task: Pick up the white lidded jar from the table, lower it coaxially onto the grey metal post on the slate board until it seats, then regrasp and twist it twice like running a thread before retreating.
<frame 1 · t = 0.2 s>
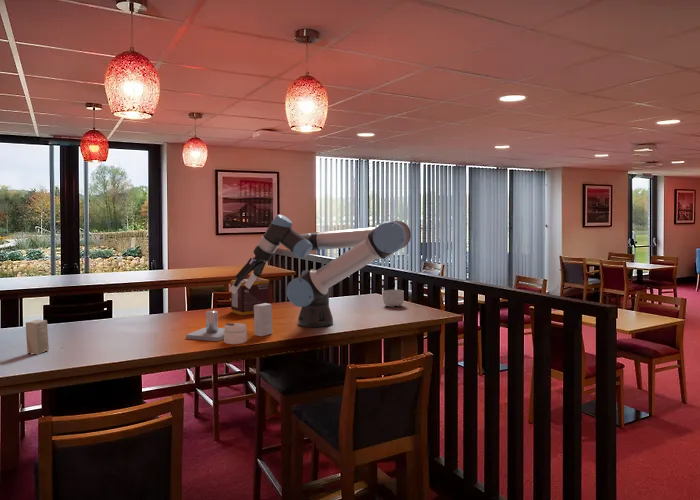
hand: (239, 289, 219), 16 cm above the table, tool tilted 35°, fingers open, 13 cm apart
box: (38, 353, 179), on the table
board: (212, 335, 203), on the table
white lidded jar: (235, 341, 195), on the table
supplement box: (250, 312, 250), on the table
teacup: (394, 306, 267), on the table
post: (211, 321, 203), on the board, point 6 cm above the table
skincare box: (263, 334, 206), on the table
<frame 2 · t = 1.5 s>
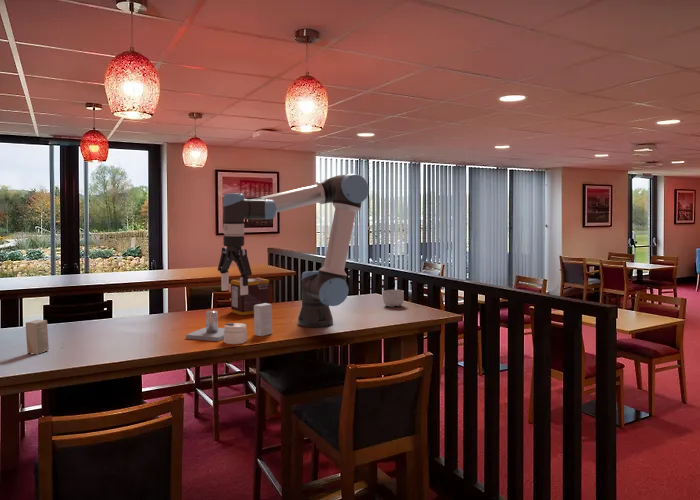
hand: (234, 292, 193), 18 cm above the table, tool pointing down, fingers open, 13 cm apart
nothing on the table moved.
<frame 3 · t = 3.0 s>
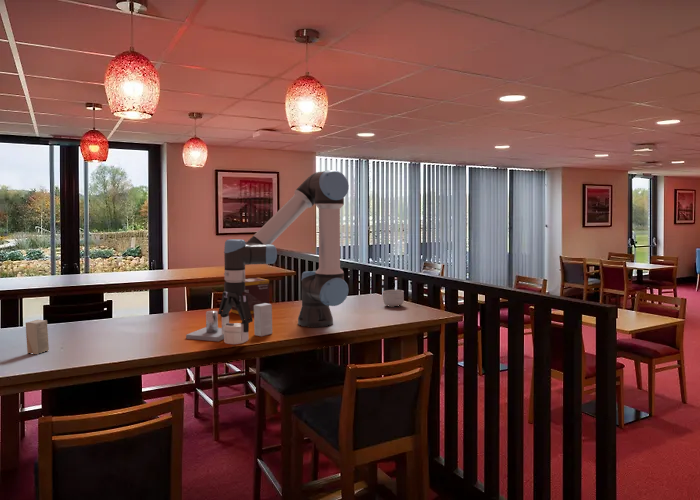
hand: (234, 337, 194), 2 cm above the table, tool pointing down, fingers open, 13 cm apart
nothing on the table moved.
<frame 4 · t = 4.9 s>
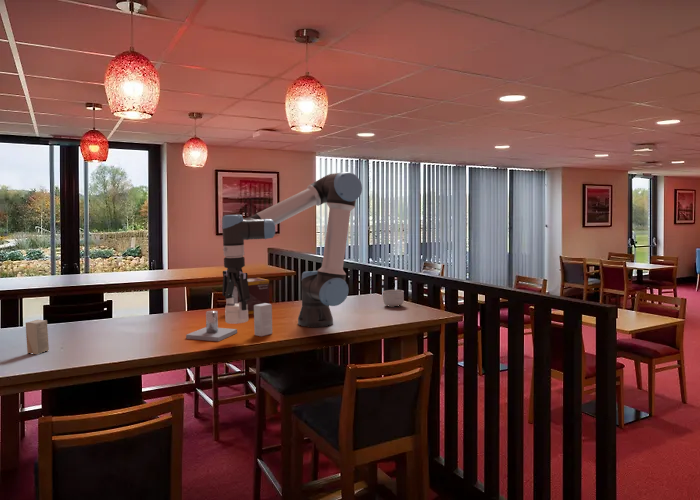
hand: (236, 316, 194), 9 cm above the table, tool pointing down, fingers closed on white lidded jar, 8 cm apart
white lidded jar: (237, 321, 194), point 8 cm above the table, touching gripper
everything else where it was.
when the fingers open (6 cm above the table, at t = 9.5 s): white lidded jar stays where it is, resting on post.
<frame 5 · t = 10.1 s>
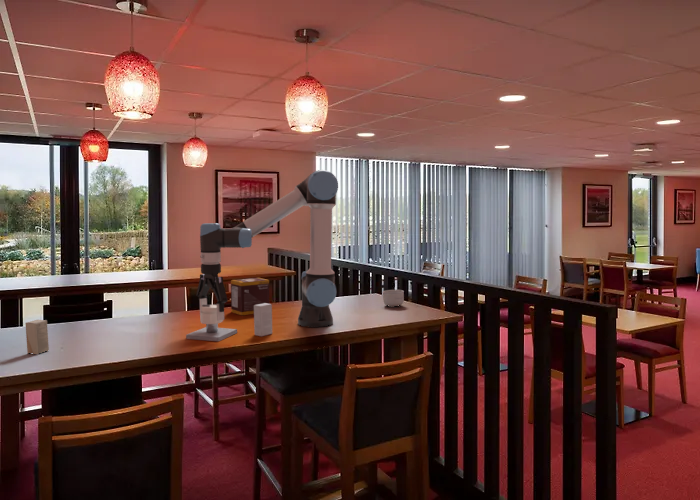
hand: (211, 317, 203), 7 cm above the table, tool pointing down, fingers open, 13 cm apart
white lidded jar: (211, 321, 203), point 5 cm above the table, touching post
everything else where it was.
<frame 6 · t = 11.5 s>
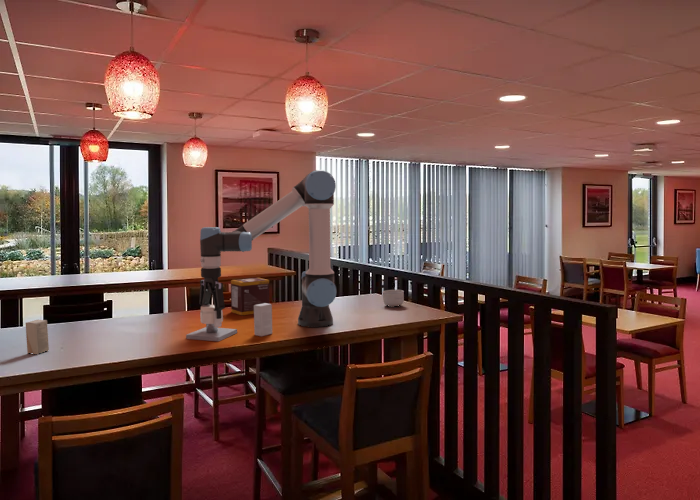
hand: (212, 324, 203), 4 cm above the table, tool pointing down, fingers closed on white lidded jar, 8 cm apart
white lidded jar: (211, 321, 203), point 6 cm above the table, touching gripper, post
everything else where it was.
when the fingers open (4 cm above the table, at t = 15.7 s): white lidded jar stays where it is, resting on post.
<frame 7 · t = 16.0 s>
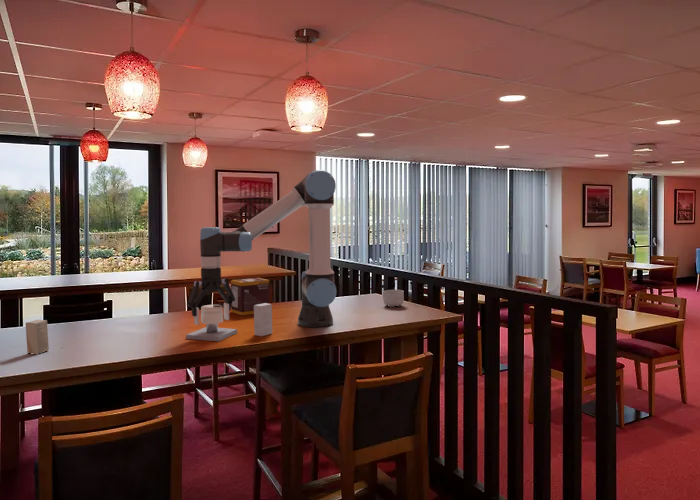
hand: (211, 322, 203), 5 cm above the table, tool pointing down, fingers open, 12 cm apart
white lidded jar: (212, 321, 203), point 5 cm above the table, touching post
everything else where it was.
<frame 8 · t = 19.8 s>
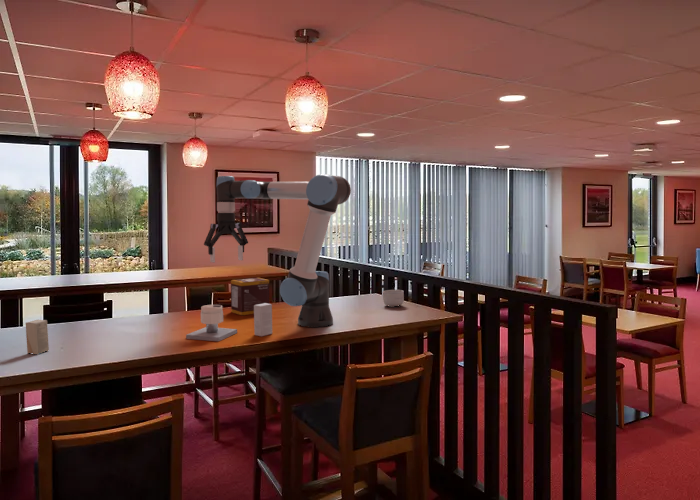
hand: (226, 261, 226), 27 cm above the table, tool pointing down, fingers open, 13 cm apart
nothing on the table moved.
at the end: white lidded jar 0.0 cm from the post (horizontally); white lidded jar 0.0 cm off-centre on the post, point 5.5 cm above the post's base; the gripper is holding nothing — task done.
